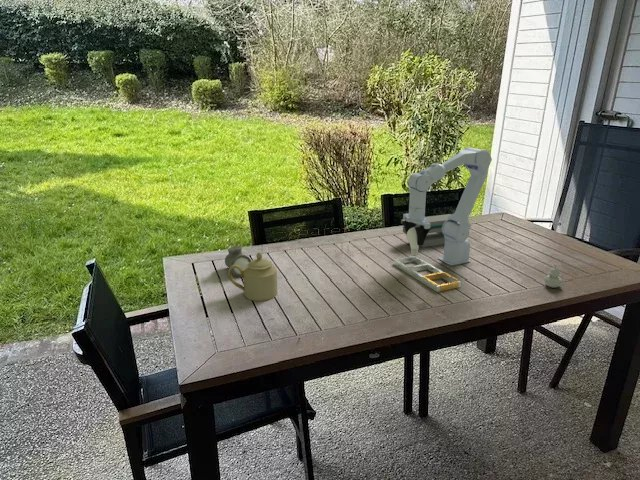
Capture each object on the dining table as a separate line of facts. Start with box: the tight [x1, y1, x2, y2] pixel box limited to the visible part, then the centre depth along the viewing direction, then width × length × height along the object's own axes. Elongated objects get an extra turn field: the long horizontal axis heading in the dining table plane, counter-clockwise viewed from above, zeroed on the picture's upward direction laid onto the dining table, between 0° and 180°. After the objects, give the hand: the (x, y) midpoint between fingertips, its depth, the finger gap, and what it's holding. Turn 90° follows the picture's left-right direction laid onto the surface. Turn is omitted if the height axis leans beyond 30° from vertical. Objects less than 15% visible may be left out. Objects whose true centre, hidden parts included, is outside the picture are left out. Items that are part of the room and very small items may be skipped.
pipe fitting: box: [224, 245, 252, 278], centre depth 167 cm, size 12×8×10 cm, turn 29°
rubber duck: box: [544, 265, 564, 289], centre depth 151 cm, size 5×7×8 cm
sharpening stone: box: [400, 213, 453, 248], centre depth 195 cm, size 25×8×11 cm, turn 109°
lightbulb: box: [406, 227, 420, 257], centre depth 166 cm, size 6×6×11 cm
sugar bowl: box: [227, 252, 278, 302], centre depth 146 cm, size 15×11×15 cm
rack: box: [393, 255, 462, 293], centre depth 162 cm, size 10×27×2 cm, turn 23°
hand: (415, 242), depth 166 cm, fingers closed on lightbulb, 6 cm apart
